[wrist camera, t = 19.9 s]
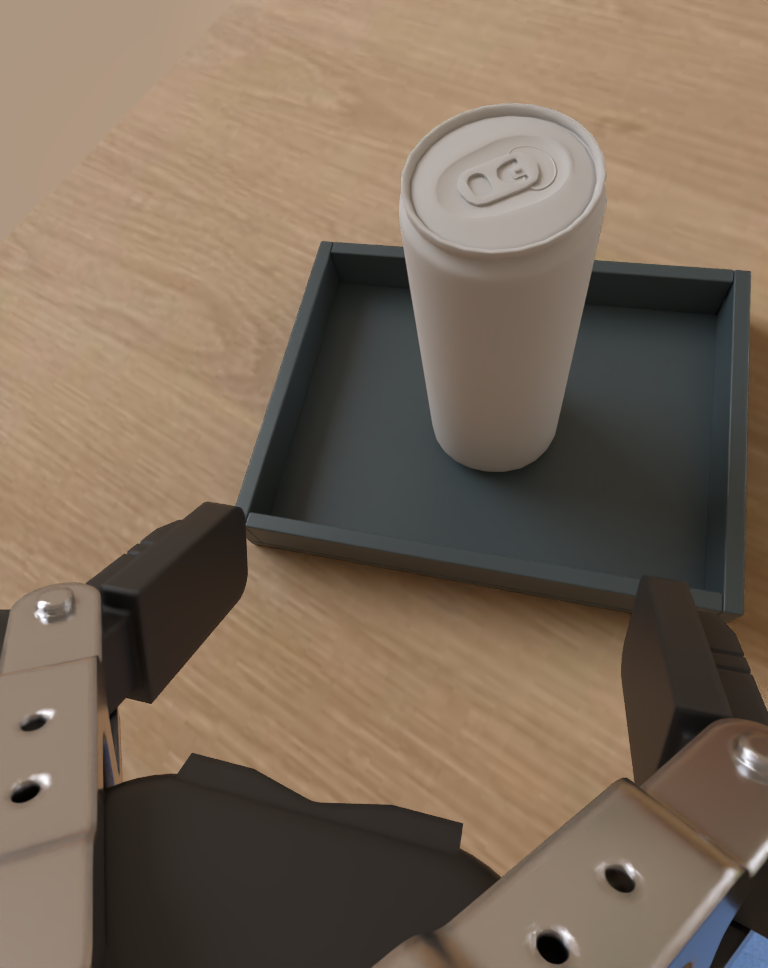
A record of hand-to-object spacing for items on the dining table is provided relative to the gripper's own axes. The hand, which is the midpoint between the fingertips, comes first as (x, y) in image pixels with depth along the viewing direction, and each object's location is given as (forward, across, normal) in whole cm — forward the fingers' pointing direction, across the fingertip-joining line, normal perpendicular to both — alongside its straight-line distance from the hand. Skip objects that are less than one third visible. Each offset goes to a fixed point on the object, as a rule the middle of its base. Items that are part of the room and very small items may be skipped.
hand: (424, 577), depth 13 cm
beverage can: (+14, 0, +1) cm, 14 cm away
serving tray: (+14, 0, +1) cm, 14 cm away
